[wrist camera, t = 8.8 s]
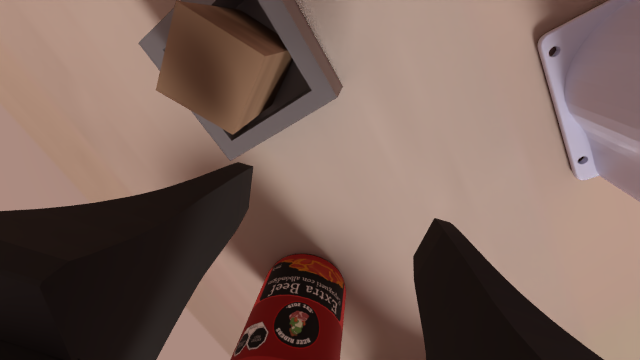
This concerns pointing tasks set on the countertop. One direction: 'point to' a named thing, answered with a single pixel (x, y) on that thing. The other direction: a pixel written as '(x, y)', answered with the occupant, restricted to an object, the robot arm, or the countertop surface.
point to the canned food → (296, 313)
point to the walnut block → (222, 64)
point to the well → (297, 87)
